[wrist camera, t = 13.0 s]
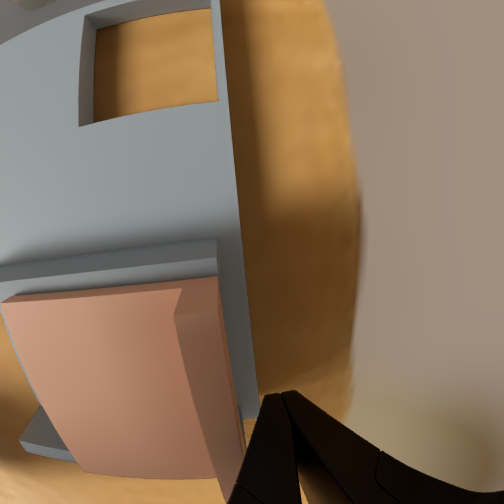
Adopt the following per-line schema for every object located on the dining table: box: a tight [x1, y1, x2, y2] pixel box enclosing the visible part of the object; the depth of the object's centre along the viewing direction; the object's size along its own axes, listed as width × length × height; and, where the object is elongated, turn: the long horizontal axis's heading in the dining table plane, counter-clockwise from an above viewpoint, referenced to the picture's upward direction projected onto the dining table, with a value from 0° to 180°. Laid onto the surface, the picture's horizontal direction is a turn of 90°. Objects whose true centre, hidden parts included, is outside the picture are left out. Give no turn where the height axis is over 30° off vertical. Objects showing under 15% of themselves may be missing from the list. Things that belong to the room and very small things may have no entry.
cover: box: [0, 276, 246, 504], centre depth 7 cm, size 6×7×2 cm
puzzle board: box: [0, 0, 260, 463], centre depth 9 cm, size 11×18×4 cm, turn 6°
